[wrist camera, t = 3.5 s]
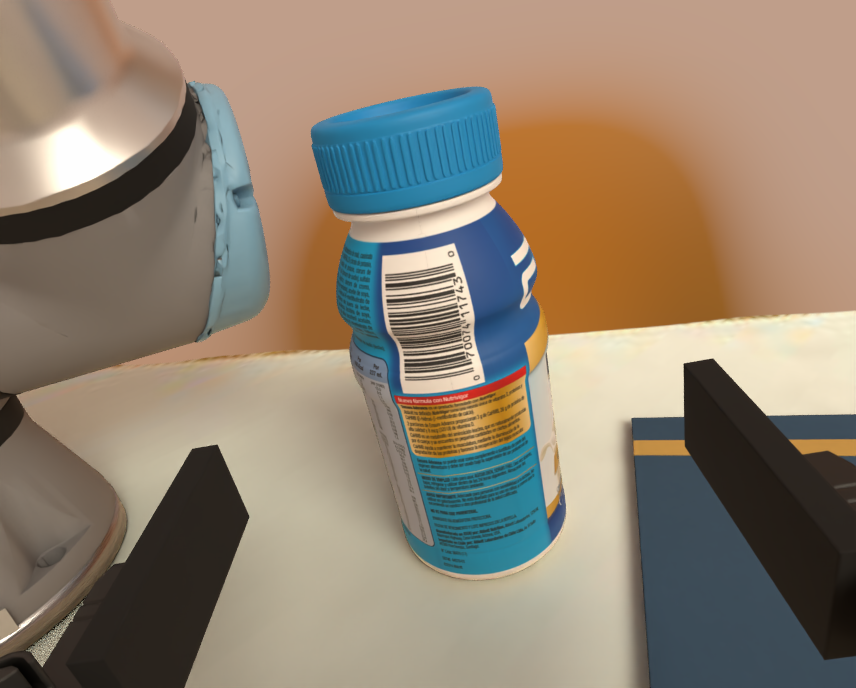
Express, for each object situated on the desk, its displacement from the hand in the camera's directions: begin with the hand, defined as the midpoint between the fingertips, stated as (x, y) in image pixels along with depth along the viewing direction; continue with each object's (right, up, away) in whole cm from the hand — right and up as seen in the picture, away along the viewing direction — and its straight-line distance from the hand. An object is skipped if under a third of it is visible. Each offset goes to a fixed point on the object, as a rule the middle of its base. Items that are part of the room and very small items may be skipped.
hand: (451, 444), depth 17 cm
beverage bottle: (+2, -6, +13) cm, 15 cm away
